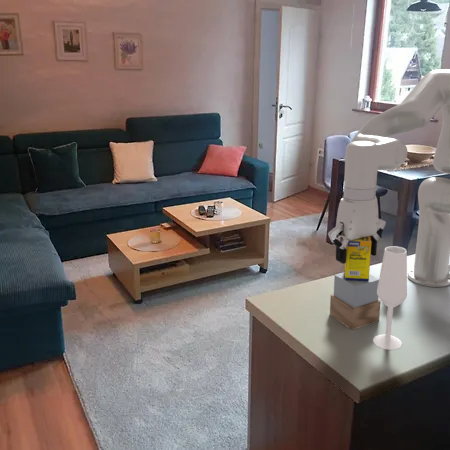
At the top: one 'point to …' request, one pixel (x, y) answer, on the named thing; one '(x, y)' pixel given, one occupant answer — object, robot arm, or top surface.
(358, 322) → the tower base block
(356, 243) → the supplement box
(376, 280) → the tower top block
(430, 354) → the top surface
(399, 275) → the champagne flute
